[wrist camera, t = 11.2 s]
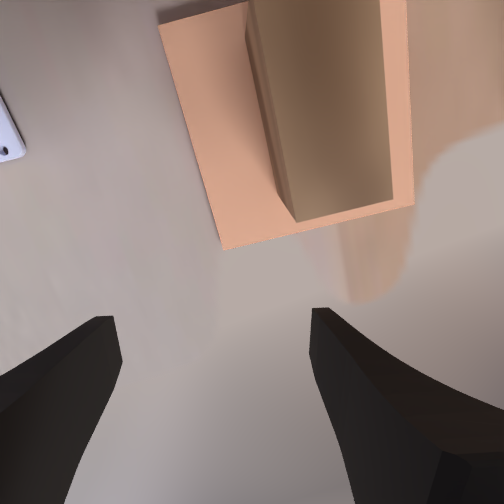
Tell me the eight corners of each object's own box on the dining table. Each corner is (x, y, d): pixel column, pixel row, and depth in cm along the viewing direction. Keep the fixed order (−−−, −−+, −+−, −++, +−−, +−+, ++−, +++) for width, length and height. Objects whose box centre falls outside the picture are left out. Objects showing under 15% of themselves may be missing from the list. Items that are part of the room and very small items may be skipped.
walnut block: (277, 194, 18) (296, 223, 13) (244, 37, 15) (250, -16, 10) (344, 178, 18) (393, 199, 13) (324, 16, 15) (376, -51, 10)
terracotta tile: (224, 246, 20) (223, 250, 19) (161, 30, 16) (157, 25, 15) (407, 201, 20) (414, 204, 19) (396, -34, 15) (404, -42, 14)
